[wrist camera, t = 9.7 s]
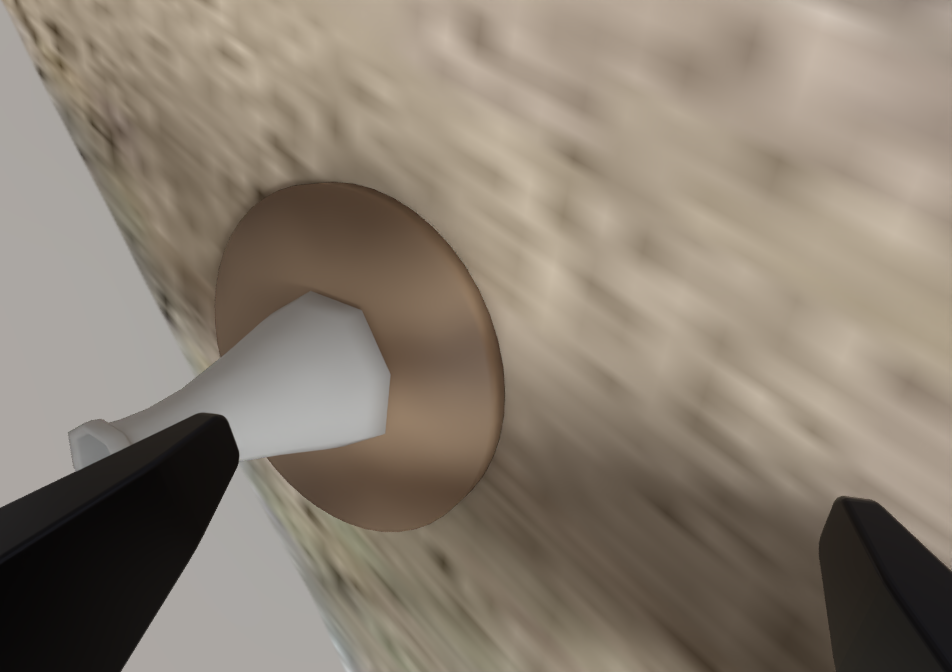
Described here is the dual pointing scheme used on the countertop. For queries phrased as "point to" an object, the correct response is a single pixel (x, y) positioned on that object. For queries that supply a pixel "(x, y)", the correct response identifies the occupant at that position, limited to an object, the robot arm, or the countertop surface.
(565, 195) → the countertop surface
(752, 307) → the countertop surface
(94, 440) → the flask
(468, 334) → the walnut board
